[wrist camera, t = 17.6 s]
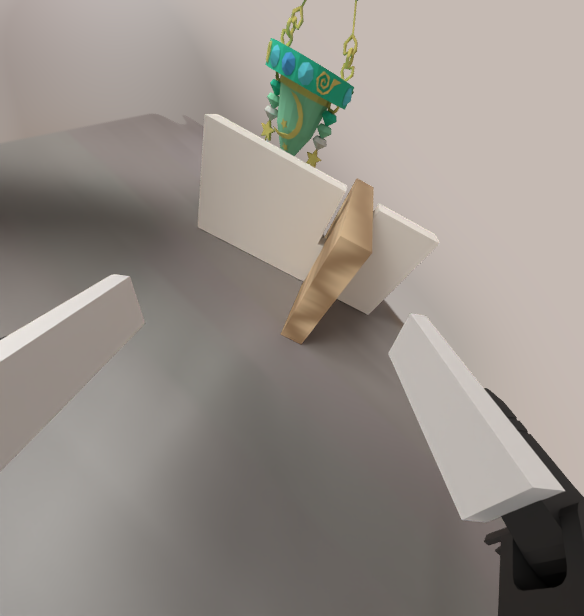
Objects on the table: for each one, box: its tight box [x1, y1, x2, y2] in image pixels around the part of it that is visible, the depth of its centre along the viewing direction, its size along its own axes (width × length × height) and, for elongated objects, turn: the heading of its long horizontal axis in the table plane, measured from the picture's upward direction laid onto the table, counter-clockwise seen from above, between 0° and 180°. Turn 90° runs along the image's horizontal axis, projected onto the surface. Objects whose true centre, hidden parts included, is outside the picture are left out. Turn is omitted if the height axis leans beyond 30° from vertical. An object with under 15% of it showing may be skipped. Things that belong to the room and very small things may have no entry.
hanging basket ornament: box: [261, 0, 358, 168], centre depth 26 cm, size 11×11×30 cm
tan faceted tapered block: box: [281, 179, 373, 344], centre depth 25 cm, size 2×18×12 cm, turn 163°
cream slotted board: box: [198, 114, 440, 315], centre depth 26 cm, size 26×2×12 cm, turn 73°
